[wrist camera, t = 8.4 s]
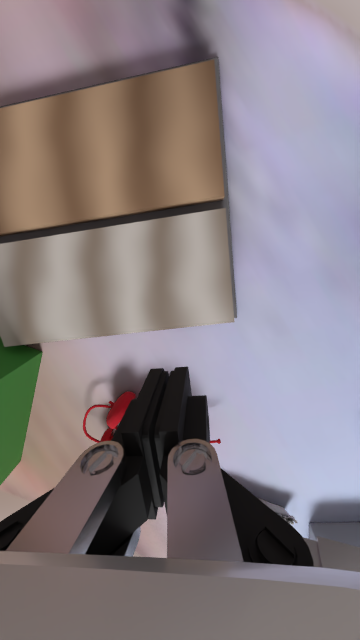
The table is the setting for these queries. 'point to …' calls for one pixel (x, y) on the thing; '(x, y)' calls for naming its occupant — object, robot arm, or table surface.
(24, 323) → the grey oak plank
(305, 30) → the table surface
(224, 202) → the brown flat board
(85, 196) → the walnut plank
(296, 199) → the table surface
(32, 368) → the hardback book
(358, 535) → the grey tray
